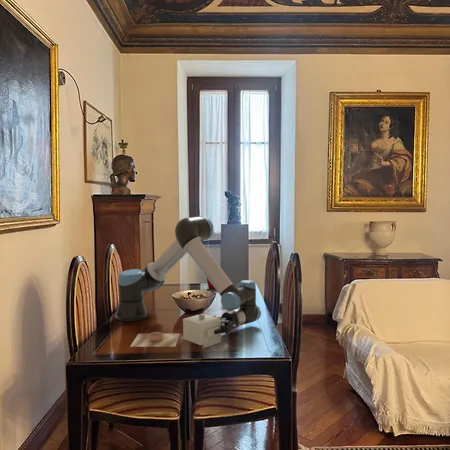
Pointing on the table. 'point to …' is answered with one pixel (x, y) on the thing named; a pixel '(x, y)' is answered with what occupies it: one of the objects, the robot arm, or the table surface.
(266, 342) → the table surface
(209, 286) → the plastic cup
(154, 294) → the table surface
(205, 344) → the white cube
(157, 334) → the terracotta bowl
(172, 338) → the maple board
